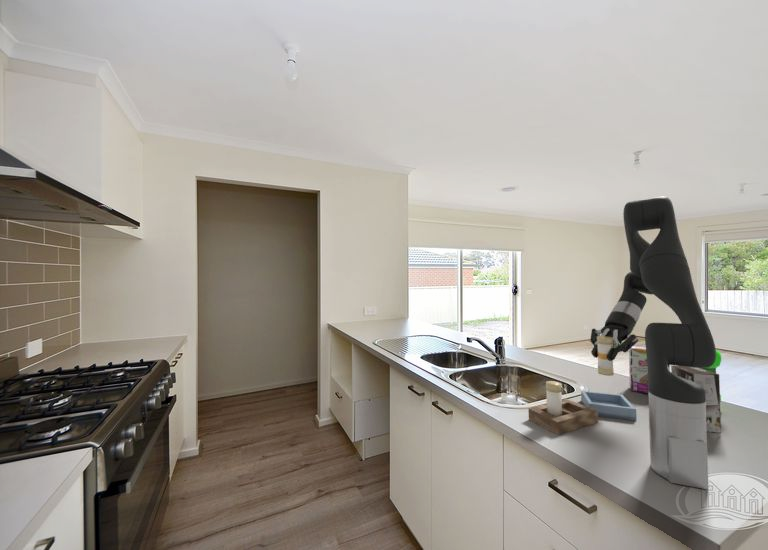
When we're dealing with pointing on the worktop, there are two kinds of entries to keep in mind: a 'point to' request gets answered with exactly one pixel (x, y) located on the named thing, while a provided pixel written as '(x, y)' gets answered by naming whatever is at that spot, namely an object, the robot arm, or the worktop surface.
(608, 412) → the tray
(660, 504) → the worktop surface
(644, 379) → the candy bar box
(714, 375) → the coffee box
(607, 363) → the cylinder
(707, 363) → the robot arm
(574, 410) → the fuse holder
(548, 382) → the cylinder
